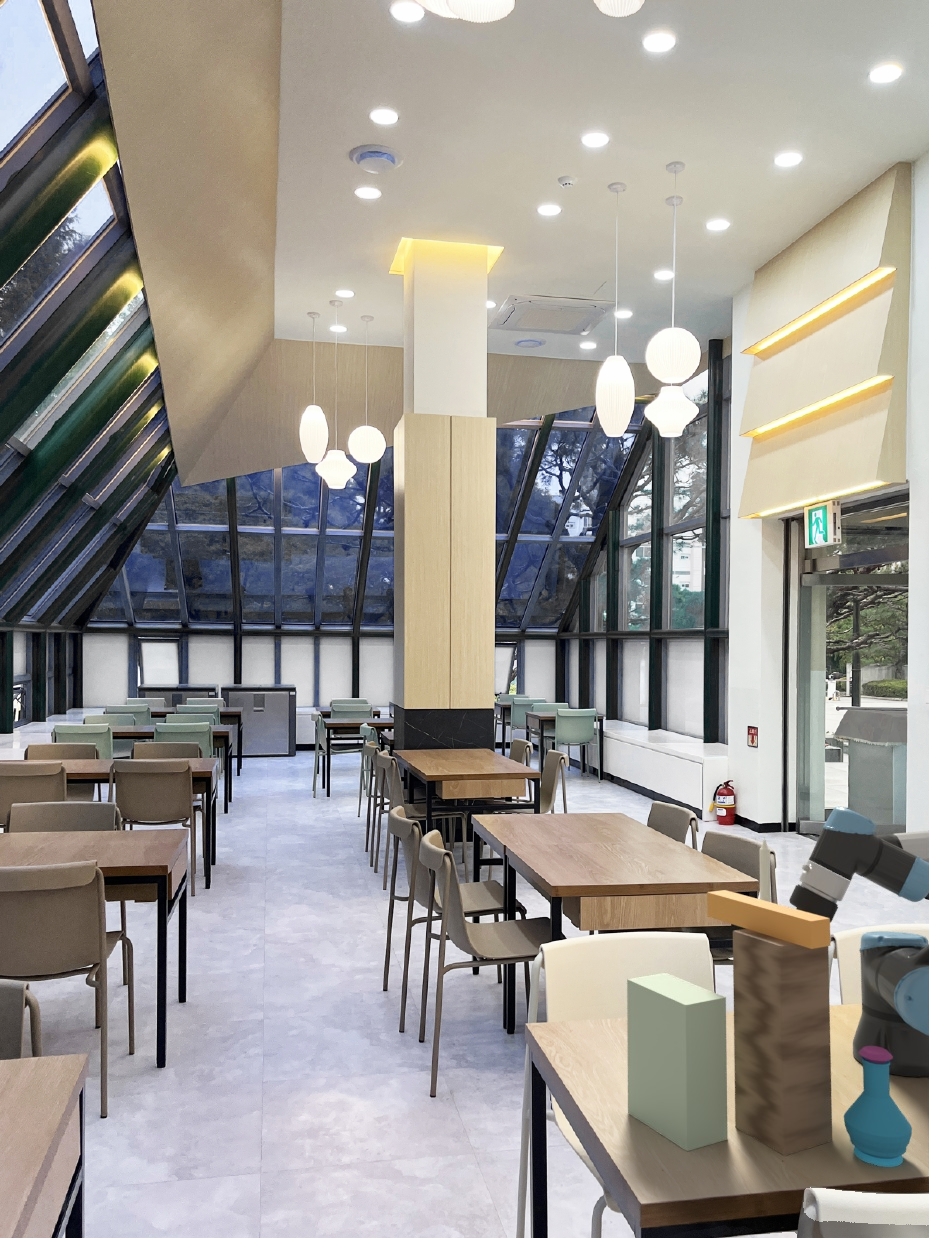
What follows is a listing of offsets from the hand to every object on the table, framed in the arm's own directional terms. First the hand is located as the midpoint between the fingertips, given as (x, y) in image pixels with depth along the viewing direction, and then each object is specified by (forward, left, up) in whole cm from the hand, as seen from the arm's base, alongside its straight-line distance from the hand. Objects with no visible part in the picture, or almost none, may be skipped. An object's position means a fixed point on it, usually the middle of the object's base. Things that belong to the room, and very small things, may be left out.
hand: (765, 1004), depth 161 cm
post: (+2, +17, -14) cm, 22 cm away
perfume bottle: (-10, +23, -14) cm, 28 cm away
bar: (+4, +14, +16) cm, 22 cm away
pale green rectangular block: (+18, +15, -14) cm, 27 cm away
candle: (-10, -33, -14) cm, 38 cm away
